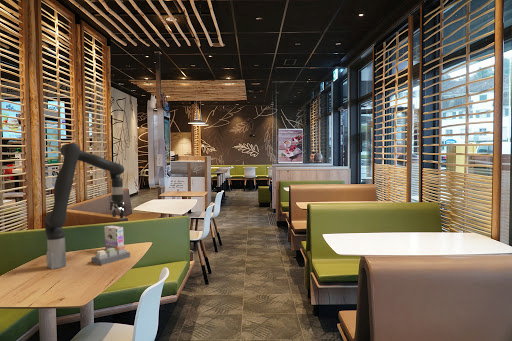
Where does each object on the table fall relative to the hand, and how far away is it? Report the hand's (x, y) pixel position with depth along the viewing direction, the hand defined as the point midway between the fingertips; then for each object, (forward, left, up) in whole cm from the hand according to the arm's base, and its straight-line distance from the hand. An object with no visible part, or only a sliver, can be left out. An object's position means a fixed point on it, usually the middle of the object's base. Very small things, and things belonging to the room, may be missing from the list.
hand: (117, 217), depth 239 cm
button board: (-12, -11, -24) cm, 29 cm away
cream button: (-19, -11, -20) cm, 29 cm away
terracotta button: (-6, -11, -20) cm, 23 cm away
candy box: (+2, +8, -24) cm, 26 cm away
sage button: (-12, -10, -19) cm, 25 cm away
